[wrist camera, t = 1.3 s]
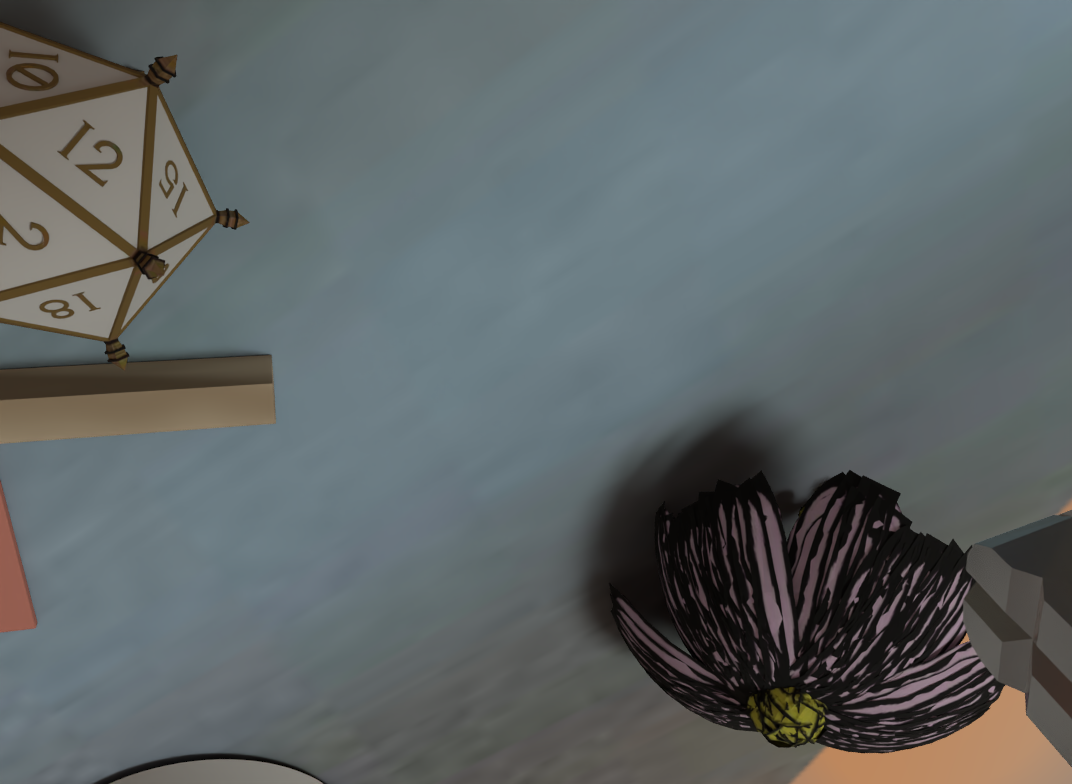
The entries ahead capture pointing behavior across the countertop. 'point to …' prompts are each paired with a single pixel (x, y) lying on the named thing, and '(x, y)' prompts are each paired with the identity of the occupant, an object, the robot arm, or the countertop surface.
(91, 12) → the countertop surface
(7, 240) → the game die
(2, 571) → the mats
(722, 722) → the decorative flower
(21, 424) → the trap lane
